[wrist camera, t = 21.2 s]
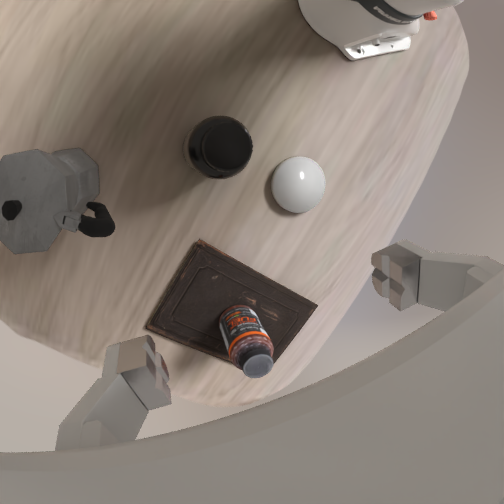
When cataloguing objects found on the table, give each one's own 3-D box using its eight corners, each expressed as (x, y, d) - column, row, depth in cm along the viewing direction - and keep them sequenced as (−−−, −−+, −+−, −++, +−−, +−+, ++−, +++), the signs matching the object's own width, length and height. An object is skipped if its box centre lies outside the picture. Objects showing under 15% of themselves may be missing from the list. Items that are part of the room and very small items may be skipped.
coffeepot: (21, 202, 31) (-52, 242, 15) (39, 134, 29) (-35, 132, 13) (118, 235, 37) (93, 300, 21) (141, 168, 36) (125, 184, 19)
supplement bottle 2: (249, 296, 45) (275, 340, 35) (260, 326, 47) (286, 371, 37) (211, 312, 44) (229, 360, 34) (225, 341, 47) (244, 390, 36)
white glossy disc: (316, 151, 42) (320, 151, 40) (324, 203, 45) (329, 204, 44) (265, 163, 40) (268, 163, 39) (277, 217, 43) (280, 219, 42)
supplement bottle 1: (244, 141, 38) (278, 140, 27) (214, 183, 39) (237, 198, 28) (202, 111, 35) (220, 97, 25) (171, 155, 36) (176, 158, 25)
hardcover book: (197, 235, 42) (199, 239, 40) (312, 299, 52) (318, 305, 50) (145, 322, 44) (145, 330, 42) (260, 367, 54) (264, 375, 52)
